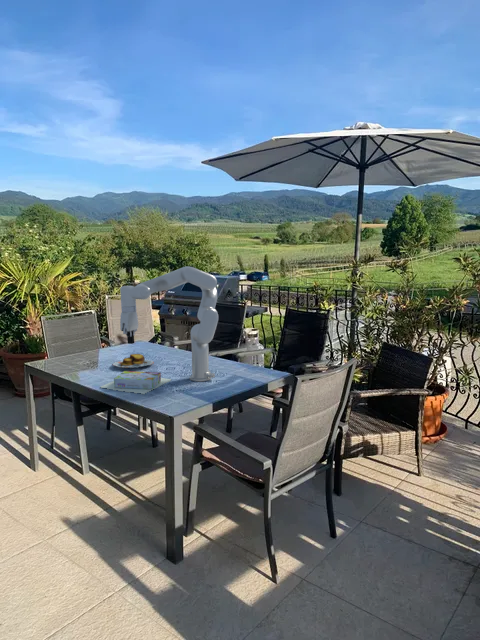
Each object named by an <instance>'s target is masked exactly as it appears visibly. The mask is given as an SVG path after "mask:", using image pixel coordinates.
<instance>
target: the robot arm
mask: <svg viewBox="0 0 480 640" xmlns="http://www.w3.org/2000/svg"><path fill="white" fill-rule="evenodd" d="M187 283H188V284H189V283H190V284H192V285H194V286H196V287H199V288H200V289H201V293H202V295H201V296H202V297H201V301H200V303H199V308H198V310H197V314H196V316H197V319H198V320H199V322H200V323H197V324H194V325H193V326H192V327H191V328H190V329H191V330H190V341H191V342H190V343H191V375H190V376H189V380H190V381H193V382H207V381H210V380H211V379H214V378H215V377H216V376H215V373H214V372H211V370H210V368H209V367H210V365H209V364H210V363H209V361H210V359H209V350H210V349H209V343H211V341H213V339H214V335H215V333H216V330H217V326H218V323H219V314H218V313H219V312H218V311H217V309H216V305H217V302H218V289H217V286H218V280H217V278H216V277H215V276H214V275H212V274H211V273H208V272H205V271H203V270H201V269H198V268H196V267H194V266H189V265H188V266H183V267H181V268H178V269H176V270H172V271H170V272H168V273H165V274H163V275H160V276H157V277H154V278H151V279H149V280H146V281H143V282H141V283H138V284H136V285H135V286H134V285H123V286H120V291H119V292H120V294H119V295H120V306H121V312H120V319H119V320H120V323H119V324H120V331H121V332H122V334H123V335H126V338H127V344H129V345H130V344H131V345H132V344H135V335H136V332H138V329H139V318H138V313H137V301H136V300H147V299H149V298H150V297H151V295H152V294H155V293H157V292H158V293H159V292H161V291H169V290H172V289H175V288H177V287H180V286H181V285H184V284H187Z"/></svg>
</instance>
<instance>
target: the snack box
mask: <svg viewBox="0 0 480 640" xmlns="http://www.w3.org/2000/svg"><path fill="white" fill-rule="evenodd" d="M161 376H162V373H161V372H158V371H156V372H155V371H153V372H152V371H135V370H133V371H132V370H124V371H122V372H121V373H120V374H118V375H117V376H116V377H114V378H113V381H114V387H115V388H137V389H153V388H154V387H155V386H156V385H157V384H158V383H159V382H160V381H161V378H162V377H161Z"/></svg>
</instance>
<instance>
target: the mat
mask: <svg viewBox="0 0 480 640" xmlns="http://www.w3.org/2000/svg"><path fill="white" fill-rule="evenodd" d="M170 381H172V379H171V378H164V377H161V381H160V382H159V383H158V384H157V385H156V386H155V387H154V388H153V389H154V390H155V389H157V388H160V387H161V386H163V385H164V384H167V383H169V382H170ZM100 387H101V388H100V389H102V388H107V389H106V390H109V389H113V390H112V391H116V390H118V391H117V392H123V391H125V392H124V393H130V392H134V393H133V394H137V393H141V394H140V395H145V393H146V394H148V393H150V392H152V391H153V389H137V388H115V387H114V380H113V381H110V382H108V383H106V384H103V385H101V386H100ZM151 390H152V391H151ZM149 391H150V392H149ZM147 392H148V393H147Z"/></svg>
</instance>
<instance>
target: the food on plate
mask: <svg viewBox="0 0 480 640" xmlns="http://www.w3.org/2000/svg"><path fill="white" fill-rule="evenodd" d="M154 363H155V362H154V361H153V360H149V359H145V356H144V355H143V354H141V353H133V354H129V357H125V358H123V359H122V360H121V361H116V362H113V363H112V365H111V366H114V367H117V368H118V369H121V368H122V369H129V368H130V369H135V368H136V369H137V368H140V367H148V366H151V365H154Z"/></svg>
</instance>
